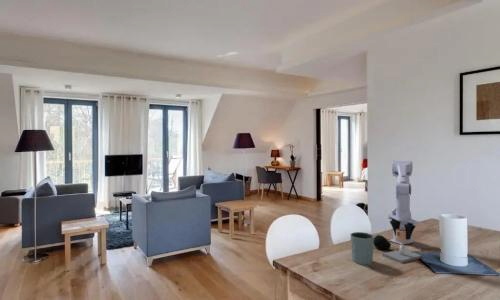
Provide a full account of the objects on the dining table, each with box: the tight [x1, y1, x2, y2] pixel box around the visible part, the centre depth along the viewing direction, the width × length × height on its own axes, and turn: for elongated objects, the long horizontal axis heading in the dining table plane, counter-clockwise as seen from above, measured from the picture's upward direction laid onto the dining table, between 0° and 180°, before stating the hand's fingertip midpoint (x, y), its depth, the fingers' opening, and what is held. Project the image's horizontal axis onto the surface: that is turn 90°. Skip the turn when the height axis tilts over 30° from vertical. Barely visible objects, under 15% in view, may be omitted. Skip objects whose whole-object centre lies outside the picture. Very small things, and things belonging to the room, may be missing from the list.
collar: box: [396, 229, 409, 242], centre depth 150 cm, size 6×5×5 cm
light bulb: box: [373, 234, 399, 251], centre depth 160 cm, size 7×7×12 cm
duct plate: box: [382, 244, 422, 264], centre depth 150 cm, size 14×10×5 cm
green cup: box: [349, 231, 375, 266], centre depth 145 cm, size 10×10×12 cm
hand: (402, 237), depth 150 cm, fingers closed on collar, 5 cm apart
